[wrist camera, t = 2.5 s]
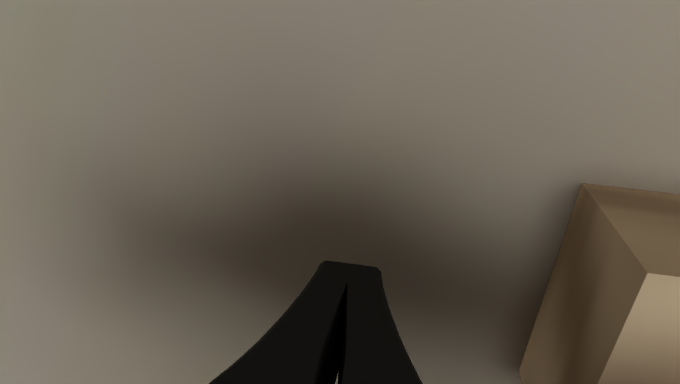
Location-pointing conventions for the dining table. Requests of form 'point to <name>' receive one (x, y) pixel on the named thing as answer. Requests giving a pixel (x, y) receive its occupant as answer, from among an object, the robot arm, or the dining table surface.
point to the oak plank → (612, 294)
